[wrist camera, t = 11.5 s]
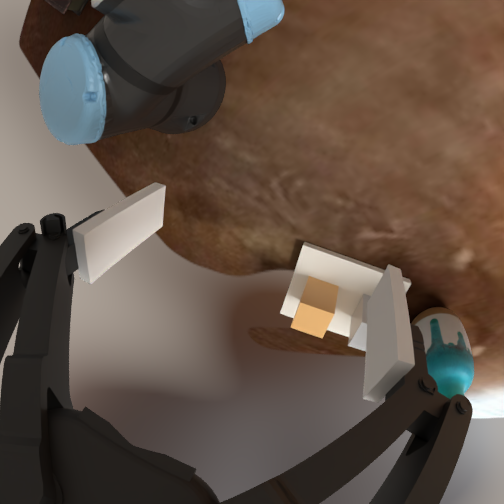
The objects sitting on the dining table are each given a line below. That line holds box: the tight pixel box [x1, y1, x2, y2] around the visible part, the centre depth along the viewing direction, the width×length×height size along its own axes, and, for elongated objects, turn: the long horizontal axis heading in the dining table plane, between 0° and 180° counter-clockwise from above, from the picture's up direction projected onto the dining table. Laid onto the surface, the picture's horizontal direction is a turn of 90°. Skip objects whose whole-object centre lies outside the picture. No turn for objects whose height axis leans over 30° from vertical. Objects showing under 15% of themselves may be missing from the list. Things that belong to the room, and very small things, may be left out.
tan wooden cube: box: [291, 276, 339, 338], centre depth 44 cm, size 5×5×7 cm
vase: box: [411, 307, 474, 399], centre depth 35 cm, size 11×11×19 cm
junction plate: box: [280, 242, 411, 351], centre depth 43 cm, size 18×14×8 cm
